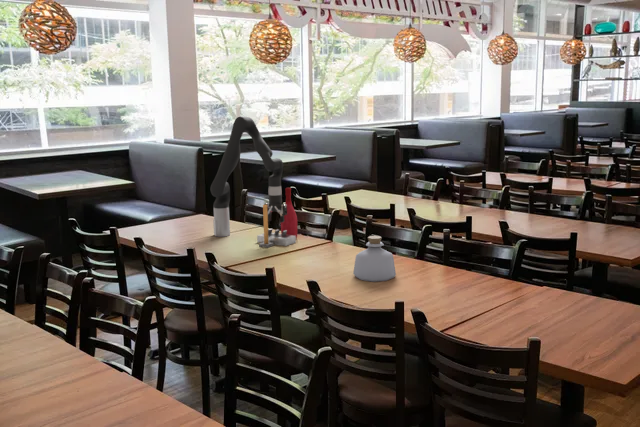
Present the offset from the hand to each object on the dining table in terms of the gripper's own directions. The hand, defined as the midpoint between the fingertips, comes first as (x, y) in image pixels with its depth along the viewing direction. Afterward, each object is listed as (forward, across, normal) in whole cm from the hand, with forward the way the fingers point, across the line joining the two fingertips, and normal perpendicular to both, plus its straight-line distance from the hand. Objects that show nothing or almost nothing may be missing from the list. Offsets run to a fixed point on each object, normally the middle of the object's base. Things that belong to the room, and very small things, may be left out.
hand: (275, 221), depth 379 cm
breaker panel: (+12, 0, 0) cm, 12 cm away
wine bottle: (+12, 0, -14) cm, 18 cm away
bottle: (+12, -80, +35) cm, 88 cm away
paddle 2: (+8, -5, 0) cm, 9 cm away
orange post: (+12, 0, +10) cm, 16 cm away
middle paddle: (+8, 0, 0) cm, 8 cm away
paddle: (+8, +5, 0) cm, 9 cm away
